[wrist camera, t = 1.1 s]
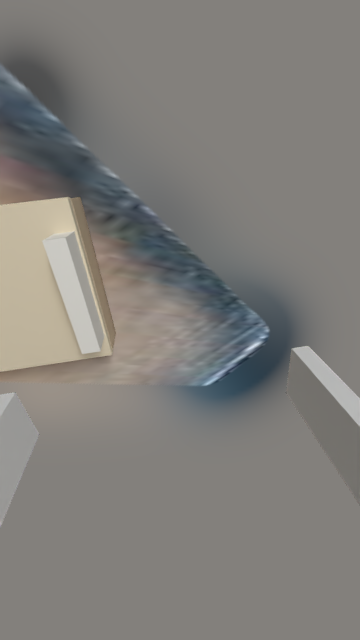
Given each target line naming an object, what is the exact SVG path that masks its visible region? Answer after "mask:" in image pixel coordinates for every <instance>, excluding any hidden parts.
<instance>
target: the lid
mask: <svg viewBox="0 0 360 640" xmlns="http://www.w3.org/2000/svg"><path fill="white" fill-rule="evenodd" d="M112 353H113V350H112V346H111V342H110V339H109V335H108V332H107V328H106V325H105V321H104V317H103V314H102V310H101V307H100V303H99V299H98V296H97V292H96V289H95V285H94V282H93V278H92V274H91V271H90V267H89V264H88V260H87V256H86V253H85V249H84V246H83V242H82V239H81V235H80V231H79V228H78V224H77V221H76V217H75V214H74V210H73V206H72V203H71V199H70V197H65V198H56V199H48V200H39V201H30V202H22V203H13V204H5V205H0V372H3V371H9V370H16V369H22V368H29V367H36V366H42V365H49V364H56V363H62V362H69V361H75V360H82V359H89V358H95V357H102V356H108V355H112Z"/></svg>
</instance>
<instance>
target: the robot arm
mask: <svg viewBox="0 0 360 640" xmlns="http://www.w3.org/2000/svg"><path fill="white" fill-rule="evenodd" d="M286 394H287V396H288V397H289V399H290V400H291V401H292V403H293V405H294V406H295V408H296V409H297V410H298V412H299V414H300V415H301V417H302V418H303V420H304V421H305V423H306V424H307V426H308V427H309V429H310V430H311V432H312V434H313V435H314V436H315V438H316V440H317V441H318V443H319V444H320V446H321V447H322V449H323V450H324V452H325V453H326V455H327V456H328V458H329V459H330V461H331V462H332V464H333V465H334V467H335V468H336V470H337V471H338V473H339V474H340V476H341V477H342V479H343V480H344V482H345V484H346V485H347V487H348V488H349V490H350V491H351V493H352V494H353V496H354V497H355V499H356V500H357V502H358V503H359V505H360V398H359V397H358V396H357V395H356V394H355V393H354V392H353V391H352V390H351V389H350V388H349V387H348V386H347V385H346V384H345V383H344V382H343V381H342V380H341V379H340V378H339V377H338V376H337V375H336V374H335V373H334V372H333V371H332V370H331V369H330V368H329V367H328V366H327V365H326V364H325V363H324V362H323V361H322V360H321V359H320V358H319V357H318V355H316V353H314V351H312V350H311V348H310V347H309V346H304V347H298V348H293V349H292V350H291V358H290V365H289V373H288V382H287V389H286ZM38 436H39V433H38V431H37V430H36V428H35V426H34V424H33V422H32V421H31V419H30V417H29V415H28V414H27V412H26V410H25V408H24V407H23V405H22V403H21V401H20V399H19V398H18V396H17V394H16V392H14V393H8V394H1V395H0V527H1V524H2V522H3V519H4V517H5V515H6V512H7V510H8V508H9V505H10V503H11V501H12V498H13V496H14V493H15V491H16V489H17V486H18V484H19V482H20V479H21V477H22V474H23V472H24V470H25V467H26V465H27V463H28V460H29V458H30V456H31V453H32V451H33V448H34V446H35V444H36V441H37V439H38Z"/></svg>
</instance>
